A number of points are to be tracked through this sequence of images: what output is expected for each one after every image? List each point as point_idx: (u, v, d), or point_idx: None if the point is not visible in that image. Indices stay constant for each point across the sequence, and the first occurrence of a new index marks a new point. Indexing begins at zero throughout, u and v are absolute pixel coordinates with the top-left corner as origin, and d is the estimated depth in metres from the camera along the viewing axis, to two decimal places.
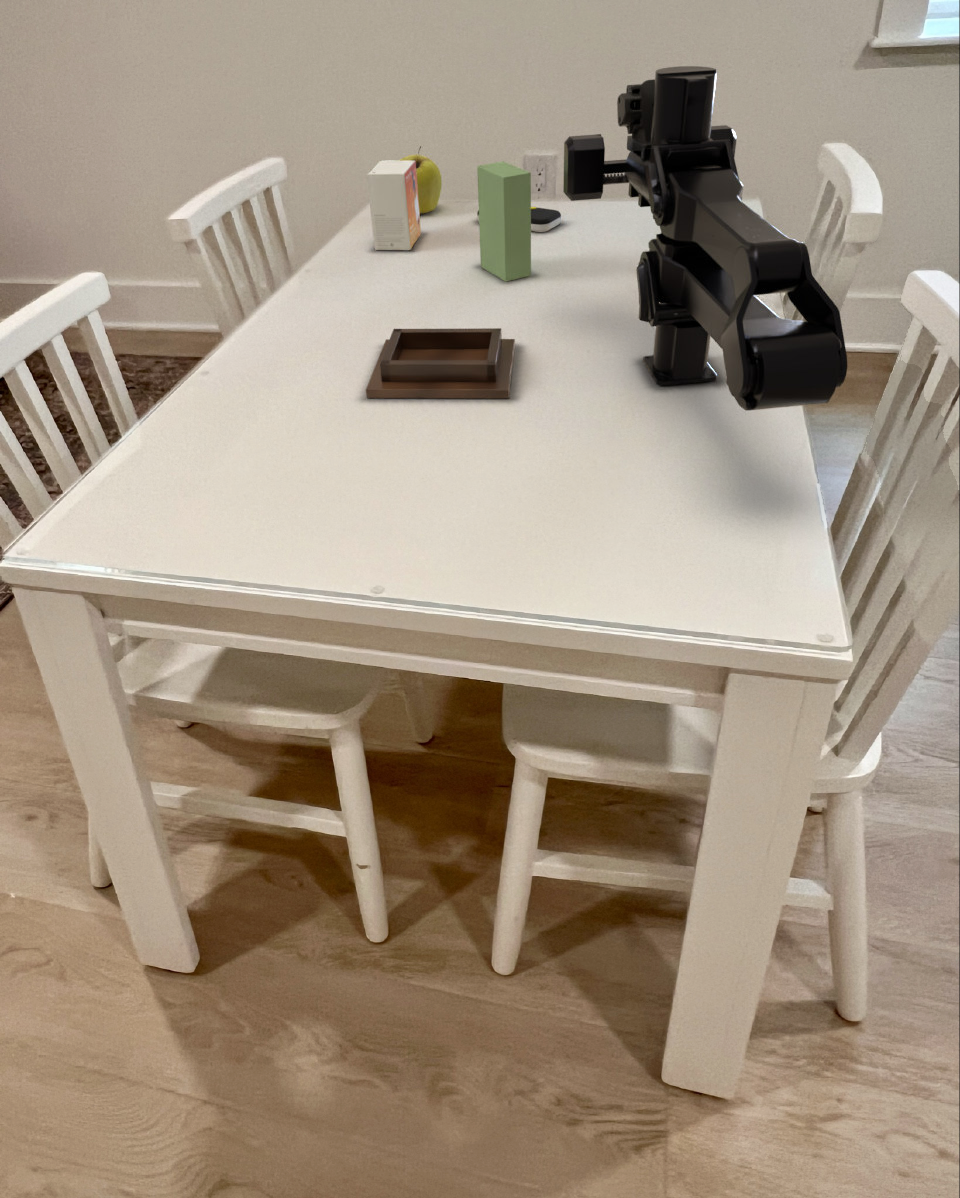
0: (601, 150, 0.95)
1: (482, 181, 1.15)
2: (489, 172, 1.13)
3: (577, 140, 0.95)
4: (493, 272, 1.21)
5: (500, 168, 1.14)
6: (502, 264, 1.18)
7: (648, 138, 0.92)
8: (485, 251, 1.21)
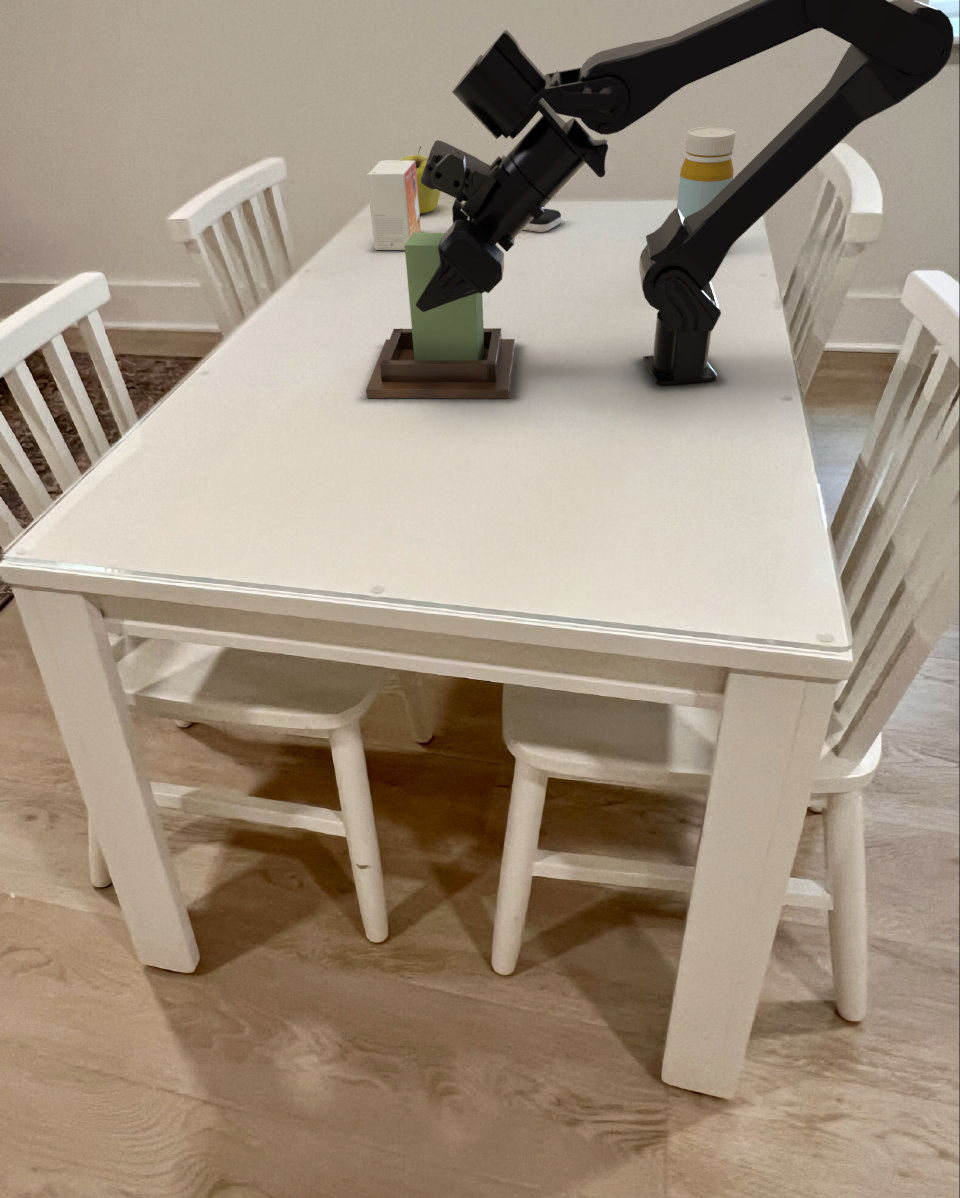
0: (471, 222, 0.82)
1: (419, 261, 0.89)
2: (437, 246, 0.88)
3: (454, 229, 0.80)
4: None
5: (437, 239, 0.89)
6: (471, 350, 0.94)
7: (484, 173, 0.83)
8: (427, 345, 0.95)
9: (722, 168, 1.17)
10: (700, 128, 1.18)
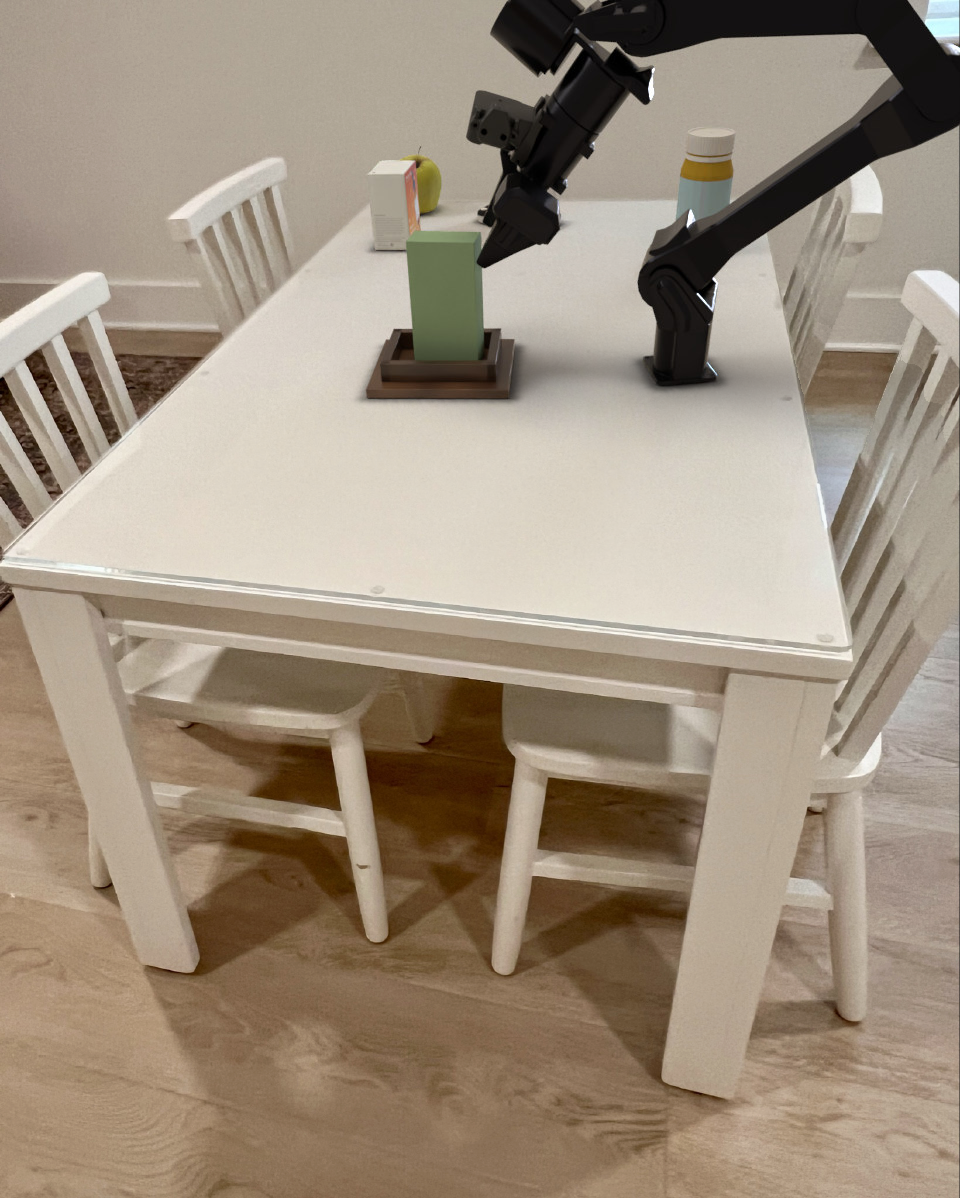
0: (522, 174, 0.81)
1: (420, 258, 0.90)
2: (438, 243, 0.88)
3: (507, 187, 0.80)
4: None
5: (438, 236, 0.90)
6: (472, 349, 0.94)
7: (530, 119, 0.82)
8: (427, 343, 0.95)
9: (722, 168, 1.17)
10: (700, 128, 1.18)
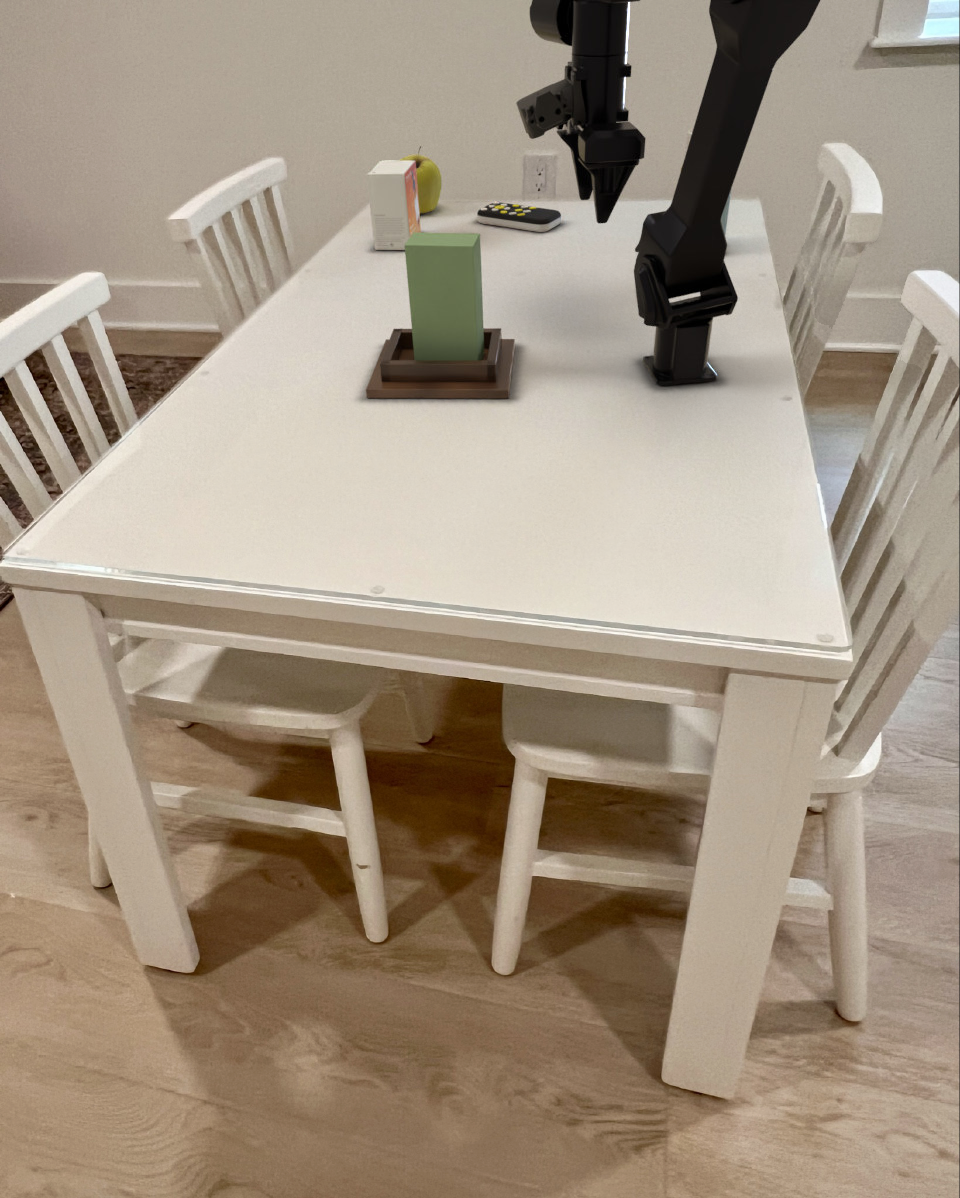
0: (589, 125, 0.91)
1: (419, 261, 0.89)
2: (437, 246, 0.88)
3: (585, 140, 0.89)
4: None
5: (437, 239, 0.89)
6: (471, 350, 0.94)
7: (568, 85, 0.92)
8: (427, 345, 0.95)
9: None
10: None
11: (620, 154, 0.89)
